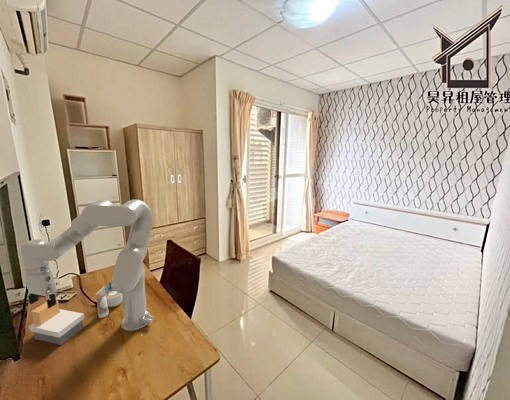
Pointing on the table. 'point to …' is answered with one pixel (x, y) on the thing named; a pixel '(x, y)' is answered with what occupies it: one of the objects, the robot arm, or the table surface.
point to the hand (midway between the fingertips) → (43, 304)
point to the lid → (54, 320)
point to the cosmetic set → (107, 301)
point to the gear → (109, 286)
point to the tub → (63, 337)
